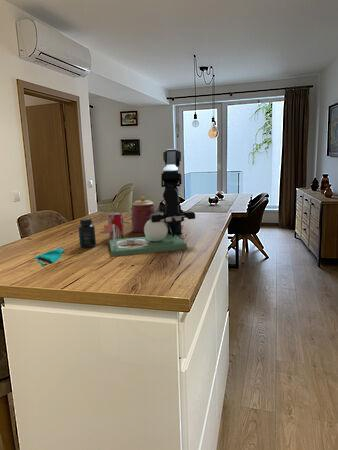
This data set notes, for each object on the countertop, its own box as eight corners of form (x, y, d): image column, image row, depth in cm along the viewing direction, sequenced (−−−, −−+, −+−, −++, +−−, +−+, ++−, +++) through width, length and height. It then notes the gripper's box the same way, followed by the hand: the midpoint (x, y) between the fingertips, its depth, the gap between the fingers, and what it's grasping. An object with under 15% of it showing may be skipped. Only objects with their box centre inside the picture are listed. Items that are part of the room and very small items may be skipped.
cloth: (50, 249, 145) (49, 244, 145) (80, 249, 143) (79, 244, 143) (15, 269, 120) (14, 263, 120) (51, 269, 118) (50, 263, 118)
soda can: (121, 240, 155) (120, 214, 152) (107, 240, 156) (105, 214, 154) (126, 236, 162) (125, 212, 159) (112, 236, 163) (111, 212, 161)
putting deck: (175, 238, 155) (174, 212, 152) (187, 249, 135) (186, 220, 133) (104, 244, 148) (102, 217, 146) (106, 257, 129) (104, 226, 126)
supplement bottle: (99, 245, 148) (97, 218, 145) (90, 249, 141) (88, 221, 139) (85, 244, 150) (83, 217, 147) (76, 248, 144) (74, 220, 141)
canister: (145, 234, 165) (143, 198, 162) (126, 231, 173) (124, 197, 170) (161, 229, 176) (160, 195, 172) (143, 227, 183) (141, 194, 180)
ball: (166, 235, 148) (162, 213, 146) (171, 241, 139) (167, 218, 136) (144, 240, 146) (140, 218, 144) (148, 246, 137) (143, 223, 135)
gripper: (187, 196, 150) (188, 231, 153) (146, 199, 146) (148, 234, 149) (195, 199, 140) (196, 235, 142) (151, 202, 135) (153, 240, 138)
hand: (173, 236), depth 143 cm, fingers closed
